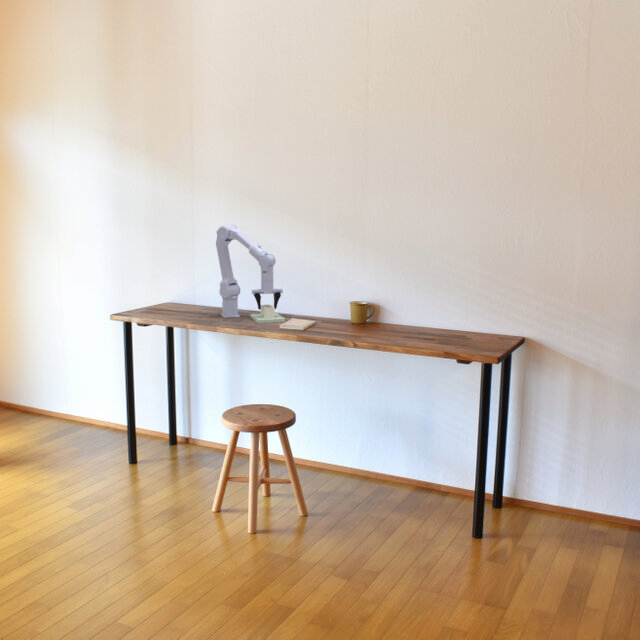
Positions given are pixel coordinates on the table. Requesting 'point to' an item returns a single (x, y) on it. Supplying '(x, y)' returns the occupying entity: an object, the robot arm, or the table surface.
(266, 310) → the beige hollow block
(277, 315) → the pin plate
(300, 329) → the table surface
